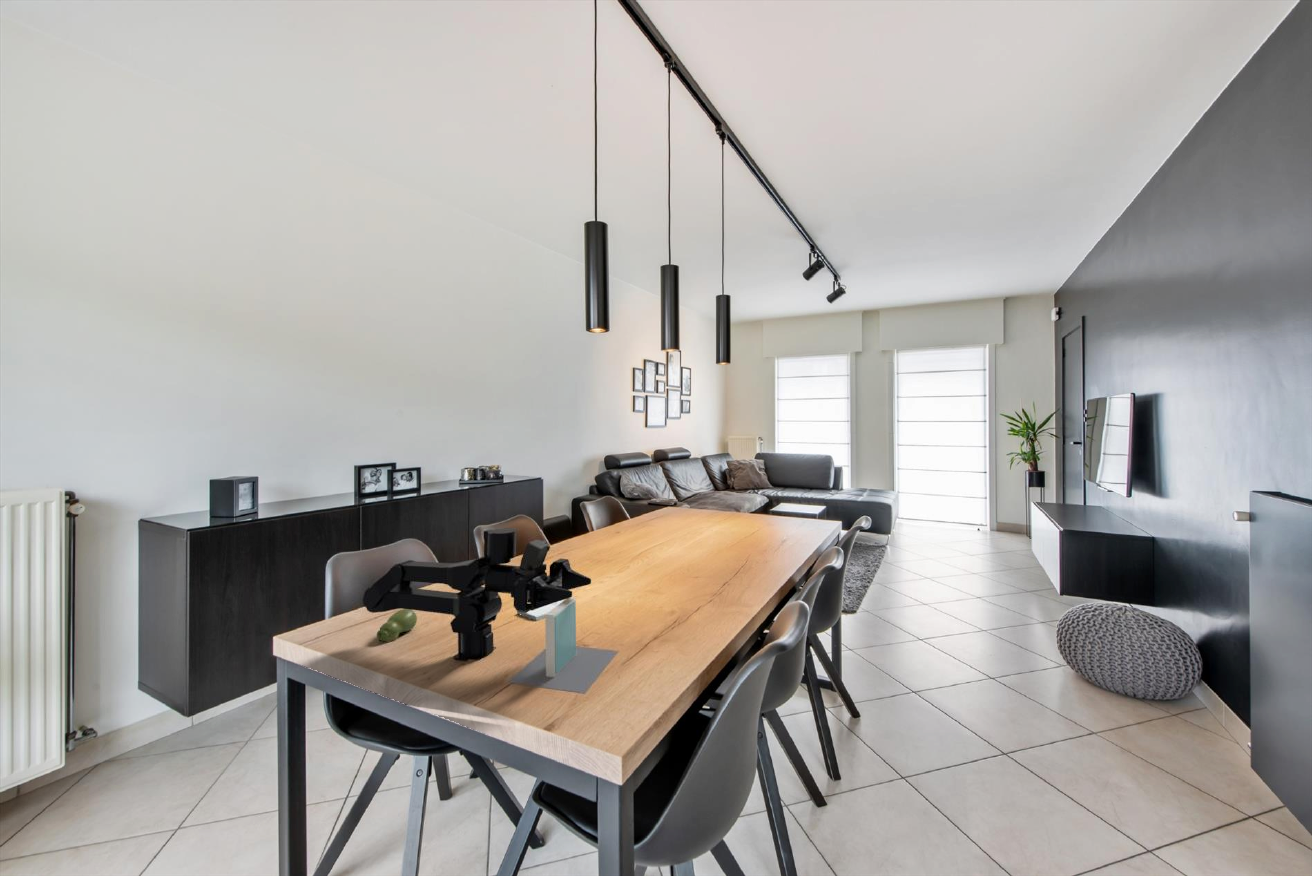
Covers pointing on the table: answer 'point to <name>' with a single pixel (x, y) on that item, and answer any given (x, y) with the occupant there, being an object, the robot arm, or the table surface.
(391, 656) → the table surface
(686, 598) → the table surface
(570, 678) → the mat
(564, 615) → the tile
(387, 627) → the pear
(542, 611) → the external hard drive
